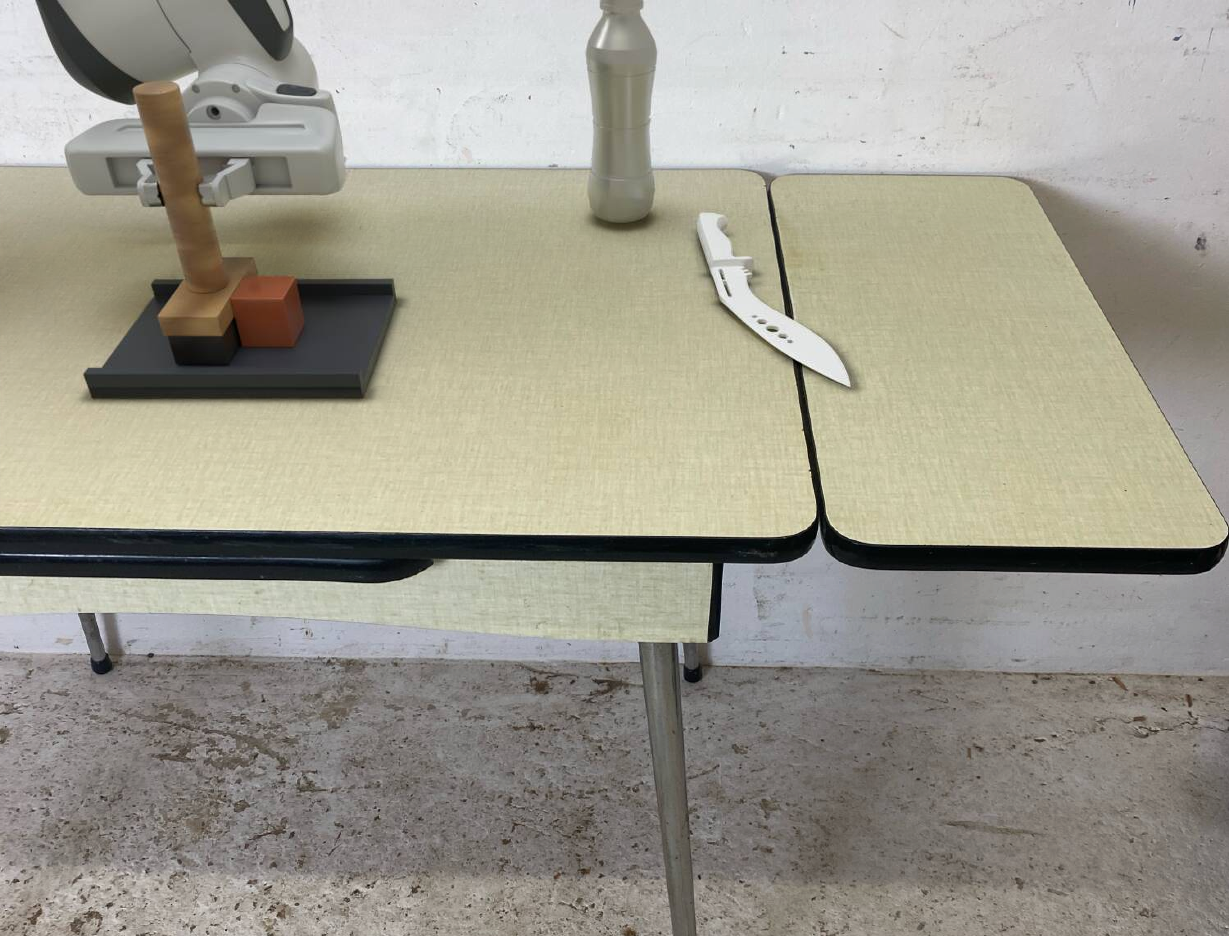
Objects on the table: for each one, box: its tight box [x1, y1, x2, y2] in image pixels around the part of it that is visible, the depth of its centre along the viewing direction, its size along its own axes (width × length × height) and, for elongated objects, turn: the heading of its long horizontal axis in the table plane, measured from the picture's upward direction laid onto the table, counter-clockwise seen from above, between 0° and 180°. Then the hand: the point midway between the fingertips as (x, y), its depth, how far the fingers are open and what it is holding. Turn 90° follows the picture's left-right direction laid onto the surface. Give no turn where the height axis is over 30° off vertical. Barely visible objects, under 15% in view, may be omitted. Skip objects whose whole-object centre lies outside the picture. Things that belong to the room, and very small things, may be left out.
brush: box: [133, 81, 260, 364], centre depth 78 cm, size 4×10×18 cm, turn 179°
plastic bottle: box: [585, 0, 658, 224], centre depth 98 cm, size 6×7×20 cm
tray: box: [82, 278, 398, 399], centre depth 84 cm, size 20×16×2 cm
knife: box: [695, 212, 851, 388], centre depth 90 cm, size 30×2×8 cm
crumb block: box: [230, 275, 305, 347], centre depth 83 cm, size 4×4×4 cm
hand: (180, 196), depth 76 cm, fingers closed on brush, 3 cm apart
